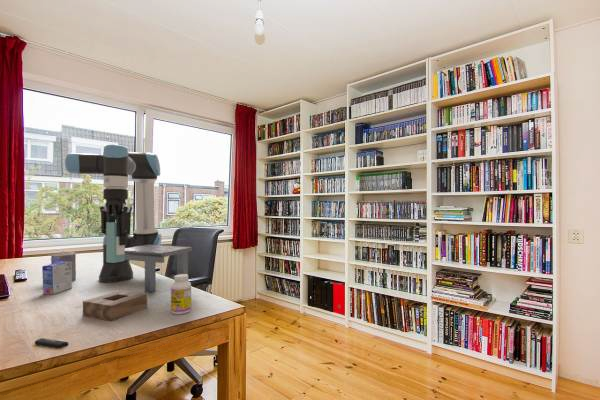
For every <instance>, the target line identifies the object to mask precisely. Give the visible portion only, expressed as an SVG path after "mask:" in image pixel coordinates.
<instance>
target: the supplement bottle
mask: <svg viewBox="0 0 600 400" xmlns="http://www.w3.org/2000/svg"><path fill="white" fill-rule="evenodd" d="M173 280H174V282H173V283H172V284H171V286H170V312H171V314H173V315H179V316H180V315H185V314H187V313H189V312H190V311H191V310H192V283H191V282H190V281H189V274H188V275H187V274H179V275H177V274H176V275H173Z"/></svg>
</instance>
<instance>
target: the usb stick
mask: <svg viewBox="0 0 600 400" xmlns="http://www.w3.org/2000/svg"><path fill="white" fill-rule="evenodd" d="M35 344H36V345H35ZM34 345H35V346H39V345H42V346H41V347H46V346H47V347H46V348H52V347H54V349H58V348H60V349H63V348H64V346H65V347H67V346H68V345H69V341H64V340H63V341H62V340H56V339H50V338H43V337H42V338H39V339H36V340H35V341H34ZM62 347H63V348H62Z"/></svg>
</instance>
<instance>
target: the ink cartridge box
mask: <svg viewBox="0 0 600 400" xmlns="http://www.w3.org/2000/svg"><path fill="white" fill-rule="evenodd" d="M55 259H56V260H58V261H53V260H55ZM50 260H51V261H52V263H53V264H51V263H50V264H46V265H42V267H41V269H42V294H43V295H44V294H45V295H54V294H57V293H61V292H63V291H67V290H70V289H72V288H73V281H72V262H65V261H62V262H60V260H59V258H53V259H51V258H50ZM51 261H50V262H51Z"/></svg>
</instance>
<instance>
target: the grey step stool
mask: <svg viewBox="0 0 600 400" xmlns="http://www.w3.org/2000/svg"><path fill="white" fill-rule="evenodd" d="M192 249H193V247H192V246H176V245H163V244H162V245H144V246H137V247H131V248H125V260H129V261H135V262H144V293H152V292H156V286H157V285H156V284H157V283H156V281H157V280H156V278H157V277H156V273H157V272H156V271H157V270H156V263H159V264H163V263H165V258H166V257H171V256H174V255H176V257H177V259H176V260H177V261H176V265H177V266H176V270H177V271H176V275H179V274H187V275H188V276H189V252H192V251H193V250H192Z"/></svg>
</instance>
